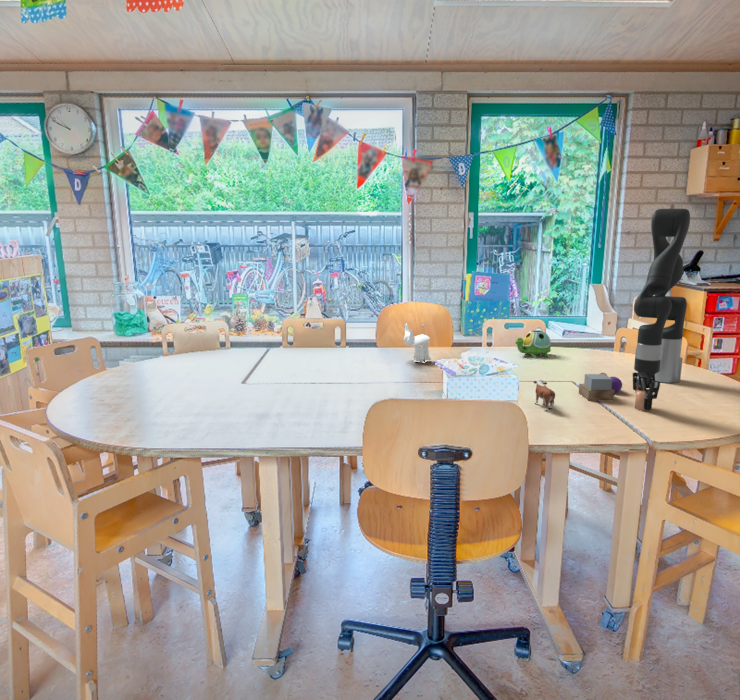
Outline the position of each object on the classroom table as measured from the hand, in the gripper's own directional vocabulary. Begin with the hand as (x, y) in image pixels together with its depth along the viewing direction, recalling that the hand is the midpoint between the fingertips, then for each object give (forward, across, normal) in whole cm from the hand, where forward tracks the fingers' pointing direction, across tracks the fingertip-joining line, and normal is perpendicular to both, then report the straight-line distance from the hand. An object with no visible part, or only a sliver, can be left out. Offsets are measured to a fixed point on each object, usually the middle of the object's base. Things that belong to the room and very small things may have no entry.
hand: (643, 406), depth 181 cm
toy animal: (+1, +74, +69) cm, 101 cm away
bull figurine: (+1, +4, +32) cm, 32 cm away
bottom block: (+1, +14, +10) cm, 17 cm away
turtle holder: (+1, +84, +12) cm, 85 cm away
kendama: (+1, +27, 0) cm, 27 cm away
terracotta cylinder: (+1, 0, 0) cm, 1 cm away
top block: (-3, +14, +10) cm, 17 cm away
